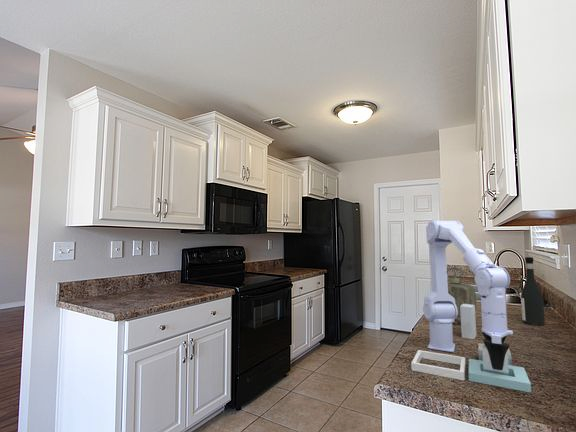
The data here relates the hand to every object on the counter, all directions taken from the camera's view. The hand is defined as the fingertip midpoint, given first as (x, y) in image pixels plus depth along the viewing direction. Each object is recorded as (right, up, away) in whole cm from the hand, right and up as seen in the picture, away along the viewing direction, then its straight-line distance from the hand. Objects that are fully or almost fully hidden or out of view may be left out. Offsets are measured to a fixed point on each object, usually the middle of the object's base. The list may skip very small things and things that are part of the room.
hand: (496, 364), depth 84 cm
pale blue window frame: (0, -3, 0) cm, 3 cm away
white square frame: (-12, -4, +7) cm, 14 cm away
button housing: (+7, -5, +11) cm, 13 cm away
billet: (0, -3, 0) cm, 4 cm away
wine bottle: (+56, -9, +58) cm, 81 cm away
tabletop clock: (+21, -9, +58) cm, 62 cm away
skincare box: (+14, -7, +38) cm, 41 cm away
